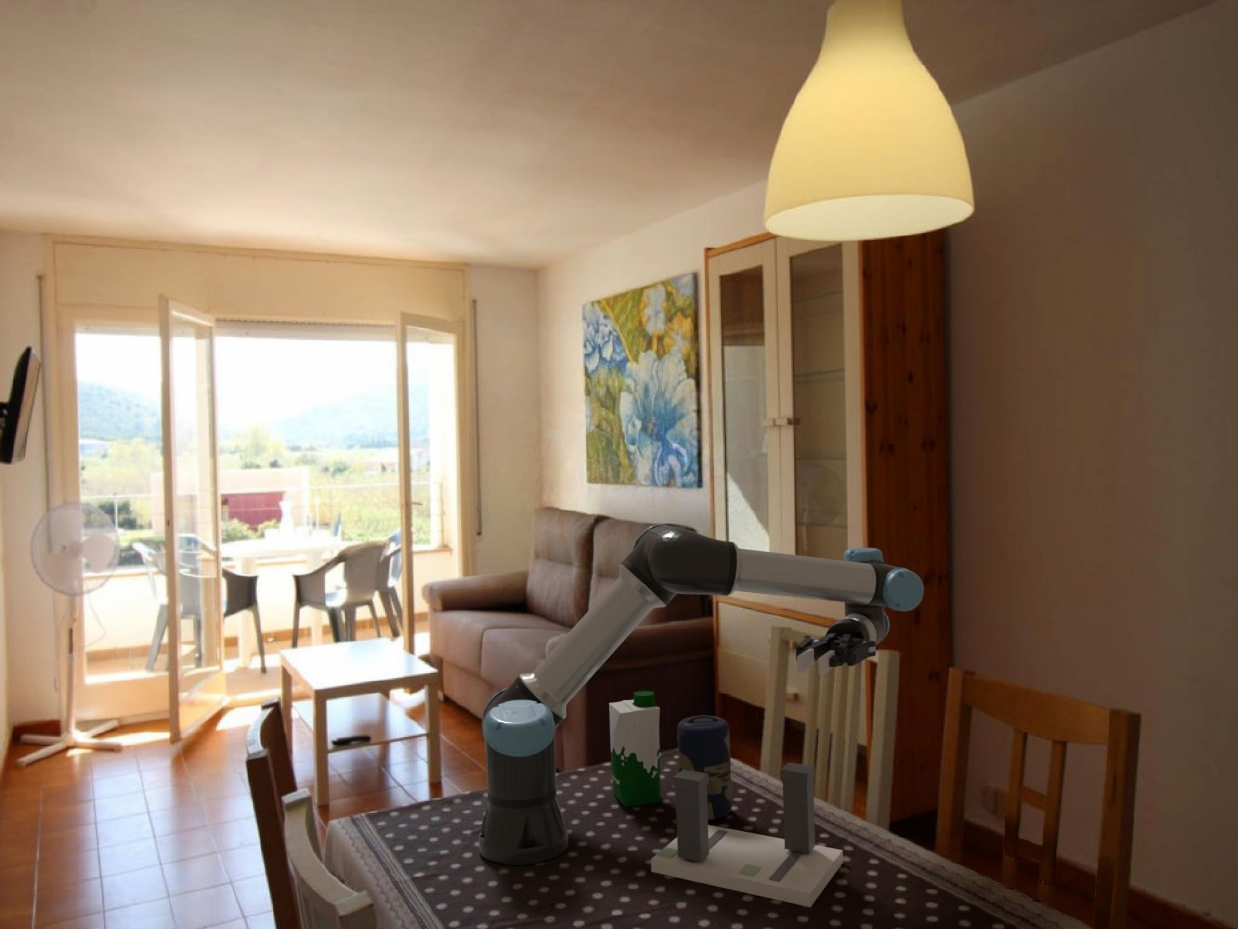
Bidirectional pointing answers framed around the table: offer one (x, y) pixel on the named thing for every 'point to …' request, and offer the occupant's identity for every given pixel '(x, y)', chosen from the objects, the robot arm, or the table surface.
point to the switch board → (754, 866)
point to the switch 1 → (692, 814)
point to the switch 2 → (798, 807)
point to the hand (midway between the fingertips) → (810, 665)
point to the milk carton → (635, 749)
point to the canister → (708, 758)
